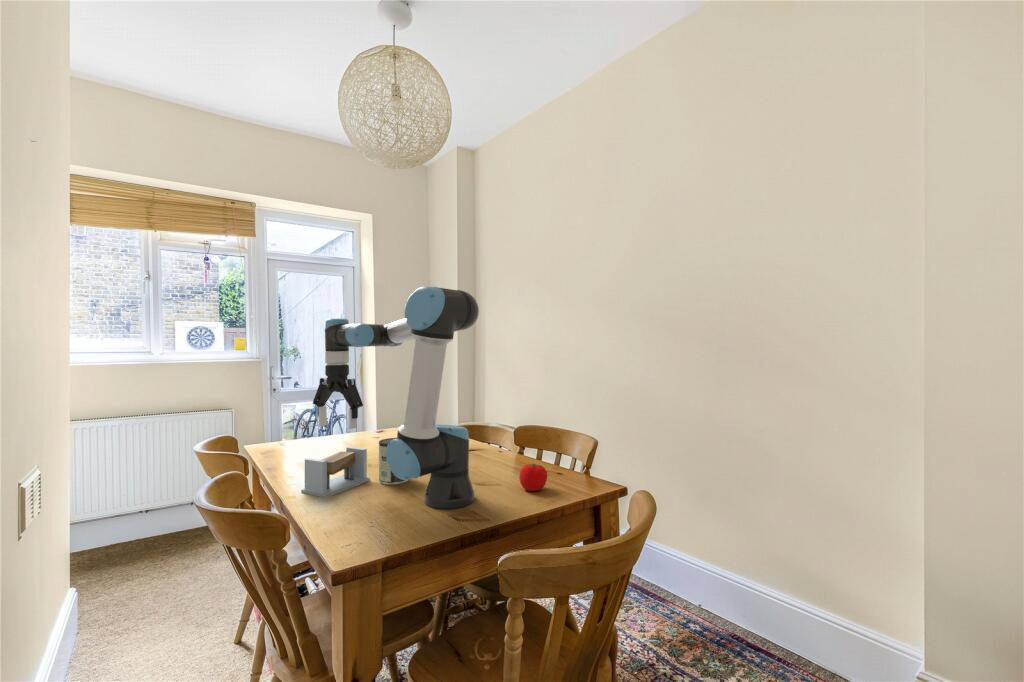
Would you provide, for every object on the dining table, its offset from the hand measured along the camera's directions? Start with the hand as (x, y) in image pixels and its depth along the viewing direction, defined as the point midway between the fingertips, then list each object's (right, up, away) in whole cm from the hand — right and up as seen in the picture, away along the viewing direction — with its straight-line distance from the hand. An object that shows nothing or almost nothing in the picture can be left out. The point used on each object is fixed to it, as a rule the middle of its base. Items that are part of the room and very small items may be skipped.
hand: (337, 427), depth 156 cm
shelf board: (0, -14, 0) cm, 14 cm away
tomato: (+66, -20, -3) cm, 69 cm away
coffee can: (+17, -20, +7) cm, 28 cm away
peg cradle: (0, -20, 0) cm, 20 cm away
